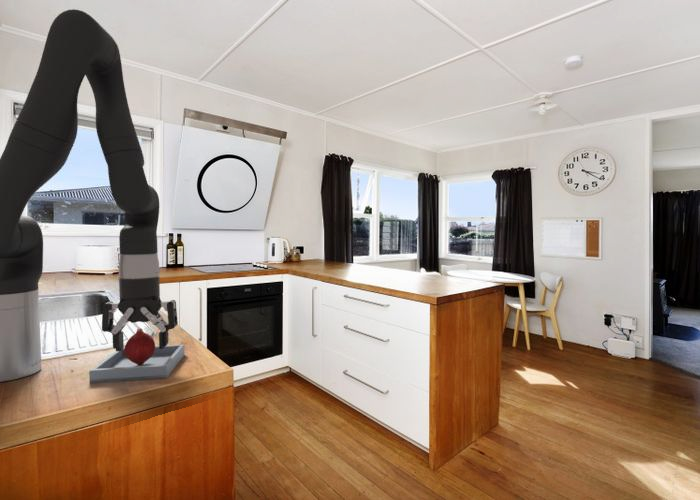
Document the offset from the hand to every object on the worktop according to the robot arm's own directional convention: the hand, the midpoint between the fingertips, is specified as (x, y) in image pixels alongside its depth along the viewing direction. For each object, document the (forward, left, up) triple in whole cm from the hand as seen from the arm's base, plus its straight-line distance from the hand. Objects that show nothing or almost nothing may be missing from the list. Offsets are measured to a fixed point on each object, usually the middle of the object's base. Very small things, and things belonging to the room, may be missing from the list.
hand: (141, 349), depth 79 cm
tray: (0, 0, -4) cm, 4 cm away
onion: (0, 0, -4) cm, 4 cm away
